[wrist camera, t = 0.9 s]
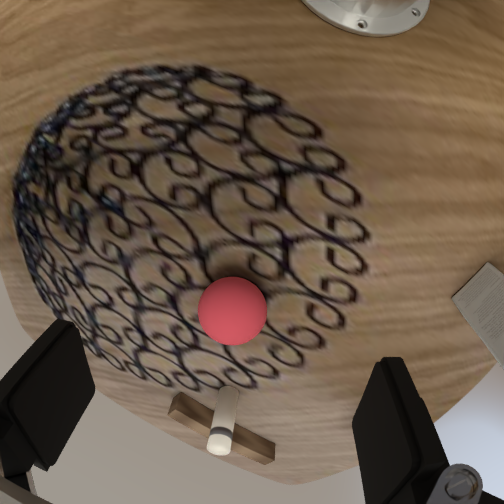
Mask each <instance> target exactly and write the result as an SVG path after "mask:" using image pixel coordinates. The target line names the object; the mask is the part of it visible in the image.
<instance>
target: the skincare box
mask: <svg viewBox="0 0 504 504" xmlns="http://www.w3.org/2000/svg"><path fill="white" fill-rule="evenodd" d="M452 300H453V302H454V303H455V305H456V306H457V308H458V309H459V311H460V312H461V314H462V315H463V316H464V318H465V319H466V321H467V322H468V323H469V324H470V326H471V327H472V328H473V330H474V331H475V332H476V333H477V335H478V336H479V337H480V339H481V340H482V341H483V342H484V344H485V345H486V346H487V348H488V349H489V350H490V352H491V353H492V355H493V356H494V357H495V359H496V360H497V361H498V363H499V364H500V366H501V367H502V368H503V370H504V274H502V273H501V272H500V271H499V270H498V269H496V268H495V267H494V266H493V265H492V264H490V263H489V262H487V263H486V264H485V265H484V266H483V267H482V268H481V270H480V271H479V272H478V273H477V274H476V275H475V276H474V277H473V278H472V279H471V280H470V281H469V282H468V283H467V284H466V285H465V286H464V287H463V288H462V289H461V290H460V291H459V292H458V293H456V294H455V295H454V296H453V297H452Z"/></svg>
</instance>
